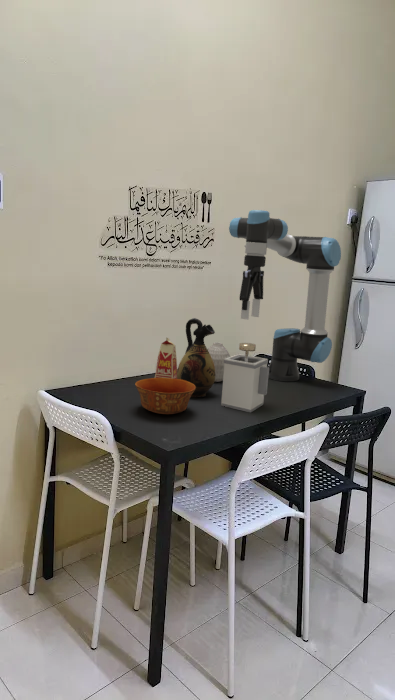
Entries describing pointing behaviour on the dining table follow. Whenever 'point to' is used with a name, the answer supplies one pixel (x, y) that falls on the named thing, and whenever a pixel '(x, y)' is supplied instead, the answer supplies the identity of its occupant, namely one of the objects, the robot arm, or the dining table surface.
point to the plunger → (247, 349)
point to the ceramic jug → (197, 360)
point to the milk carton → (167, 361)
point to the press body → (244, 382)
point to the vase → (218, 359)
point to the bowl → (165, 394)
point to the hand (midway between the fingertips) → (249, 317)
